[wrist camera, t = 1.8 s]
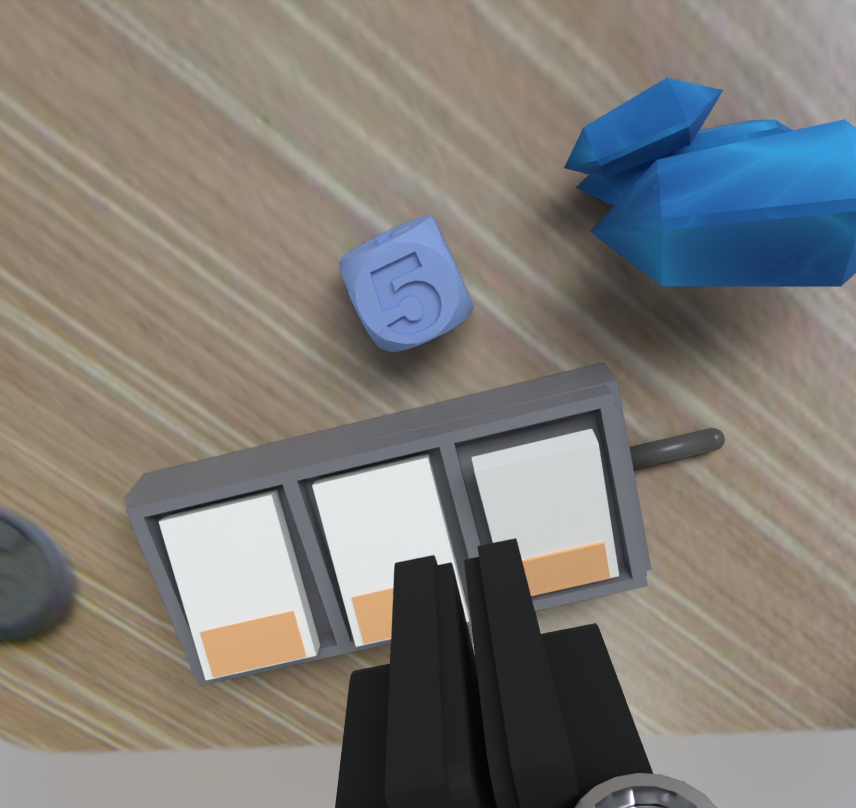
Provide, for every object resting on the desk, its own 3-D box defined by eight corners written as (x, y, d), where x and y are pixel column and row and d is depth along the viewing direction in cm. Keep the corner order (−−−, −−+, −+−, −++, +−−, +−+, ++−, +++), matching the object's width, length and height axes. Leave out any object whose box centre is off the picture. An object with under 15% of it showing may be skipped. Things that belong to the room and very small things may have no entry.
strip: (706, 337, 34) (739, 361, 31) (731, 520, 37) (765, 561, 34) (143, 474, 36) (114, 511, 32) (209, 638, 39) (189, 689, 35)
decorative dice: (431, 209, 32) (433, 220, 29) (471, 297, 34) (478, 319, 30) (343, 251, 33) (333, 267, 29) (385, 337, 34) (382, 363, 30)
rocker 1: (278, 487, 33) (270, 495, 32) (321, 643, 34) (315, 656, 33) (169, 513, 34) (157, 522, 32) (214, 667, 34) (204, 681, 33)
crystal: (550, 92, 25) (996, 26, 22) (565, 94, 32) (892, 47, 30) (568, 326, 27) (972, 295, 24) (578, 275, 35) (882, 247, 32)
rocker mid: (428, 451, 33) (428, 458, 32) (468, 610, 34) (469, 622, 32) (317, 478, 33) (311, 485, 32) (359, 634, 34) (355, 648, 33)
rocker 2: (590, 426, 31) (599, 444, 30) (611, 556, 35) (619, 578, 34) (471, 454, 31) (474, 473, 30) (503, 581, 35) (508, 602, 34)
